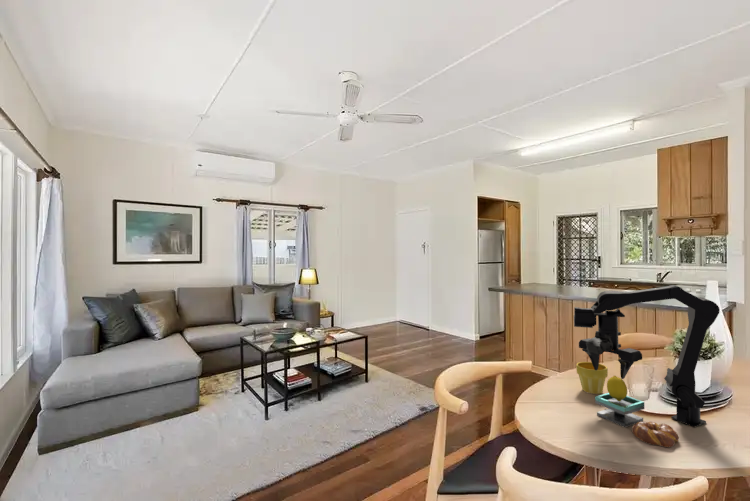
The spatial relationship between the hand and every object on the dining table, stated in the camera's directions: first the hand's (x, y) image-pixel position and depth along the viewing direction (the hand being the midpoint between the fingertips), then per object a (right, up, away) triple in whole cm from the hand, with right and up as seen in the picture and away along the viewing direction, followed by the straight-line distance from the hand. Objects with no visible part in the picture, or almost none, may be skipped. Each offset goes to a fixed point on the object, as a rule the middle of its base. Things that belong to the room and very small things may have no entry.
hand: (608, 374), depth 124 cm
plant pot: (+4, -12, +16) cm, 20 cm away
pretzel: (+2, -13, -18) cm, 22 cm away
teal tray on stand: (0, -12, -6) cm, 14 cm away
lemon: (0, -7, -6) cm, 9 cm away
